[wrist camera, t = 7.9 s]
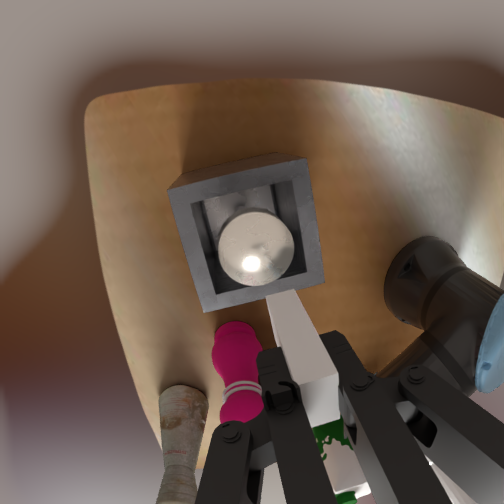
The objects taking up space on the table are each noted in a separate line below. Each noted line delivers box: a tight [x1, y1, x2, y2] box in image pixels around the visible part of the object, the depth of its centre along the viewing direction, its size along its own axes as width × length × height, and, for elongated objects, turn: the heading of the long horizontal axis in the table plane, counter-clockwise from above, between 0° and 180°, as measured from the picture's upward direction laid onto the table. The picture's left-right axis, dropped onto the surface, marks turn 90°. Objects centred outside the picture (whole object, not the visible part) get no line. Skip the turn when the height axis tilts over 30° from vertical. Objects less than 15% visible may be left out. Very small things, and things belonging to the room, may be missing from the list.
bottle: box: [156, 385, 209, 504], centre depth 37 cm, size 9×9×28 cm
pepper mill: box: [212, 321, 264, 424], centre depth 37 cm, size 7×7×20 cm
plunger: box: [204, 185, 294, 286], centre depth 32 cm, size 8×8×15 cm
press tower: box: [167, 152, 325, 313], centre depth 34 cm, size 12×12×13 cm
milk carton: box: [312, 415, 371, 504], centre depth 48 cm, size 9×9×20 cm
